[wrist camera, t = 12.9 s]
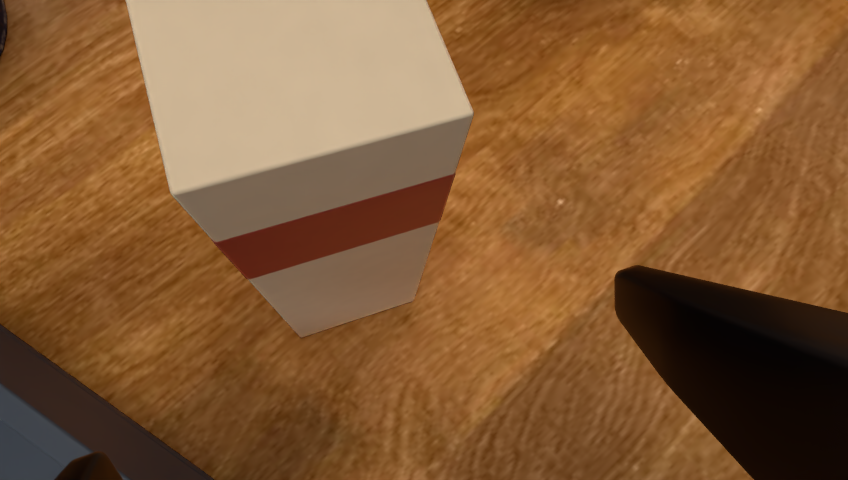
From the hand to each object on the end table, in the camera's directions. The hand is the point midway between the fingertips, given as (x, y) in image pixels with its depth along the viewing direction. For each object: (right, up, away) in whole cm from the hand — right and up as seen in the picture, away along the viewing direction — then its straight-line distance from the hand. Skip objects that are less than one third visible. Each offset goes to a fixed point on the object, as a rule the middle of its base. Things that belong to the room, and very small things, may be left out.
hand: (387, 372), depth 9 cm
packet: (-2, +2, +10) cm, 10 cm away
